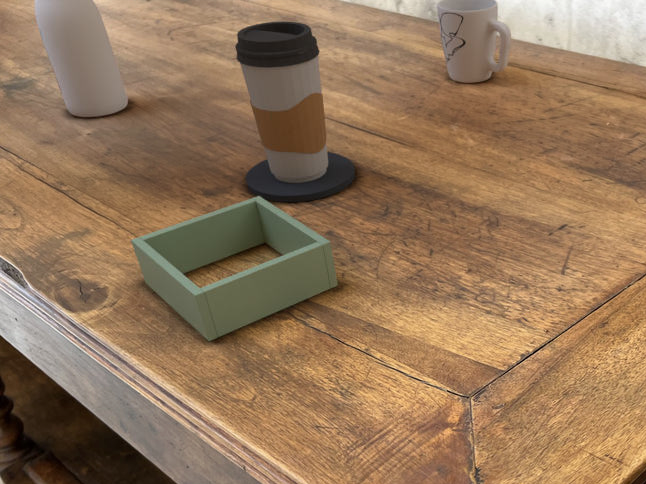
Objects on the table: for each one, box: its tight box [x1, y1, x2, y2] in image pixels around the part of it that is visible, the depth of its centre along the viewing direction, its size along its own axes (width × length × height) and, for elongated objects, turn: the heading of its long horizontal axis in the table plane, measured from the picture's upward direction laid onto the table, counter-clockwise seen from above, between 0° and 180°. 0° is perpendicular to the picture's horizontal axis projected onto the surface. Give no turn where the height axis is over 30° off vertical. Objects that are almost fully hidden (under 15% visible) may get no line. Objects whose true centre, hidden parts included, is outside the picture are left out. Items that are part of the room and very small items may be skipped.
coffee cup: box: [234, 21, 328, 183], centre depth 85 cm, size 8×8×15 cm
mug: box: [436, 0, 512, 84], centre depth 113 cm, size 11×8×10 cm
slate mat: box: [245, 151, 356, 203], centre depth 90 cm, size 12×12×1 cm
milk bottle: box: [34, 0, 129, 118], centre depth 102 cm, size 8×8×20 cm
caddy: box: [130, 196, 339, 342], centre depth 71 cm, size 13×13×4 cm
